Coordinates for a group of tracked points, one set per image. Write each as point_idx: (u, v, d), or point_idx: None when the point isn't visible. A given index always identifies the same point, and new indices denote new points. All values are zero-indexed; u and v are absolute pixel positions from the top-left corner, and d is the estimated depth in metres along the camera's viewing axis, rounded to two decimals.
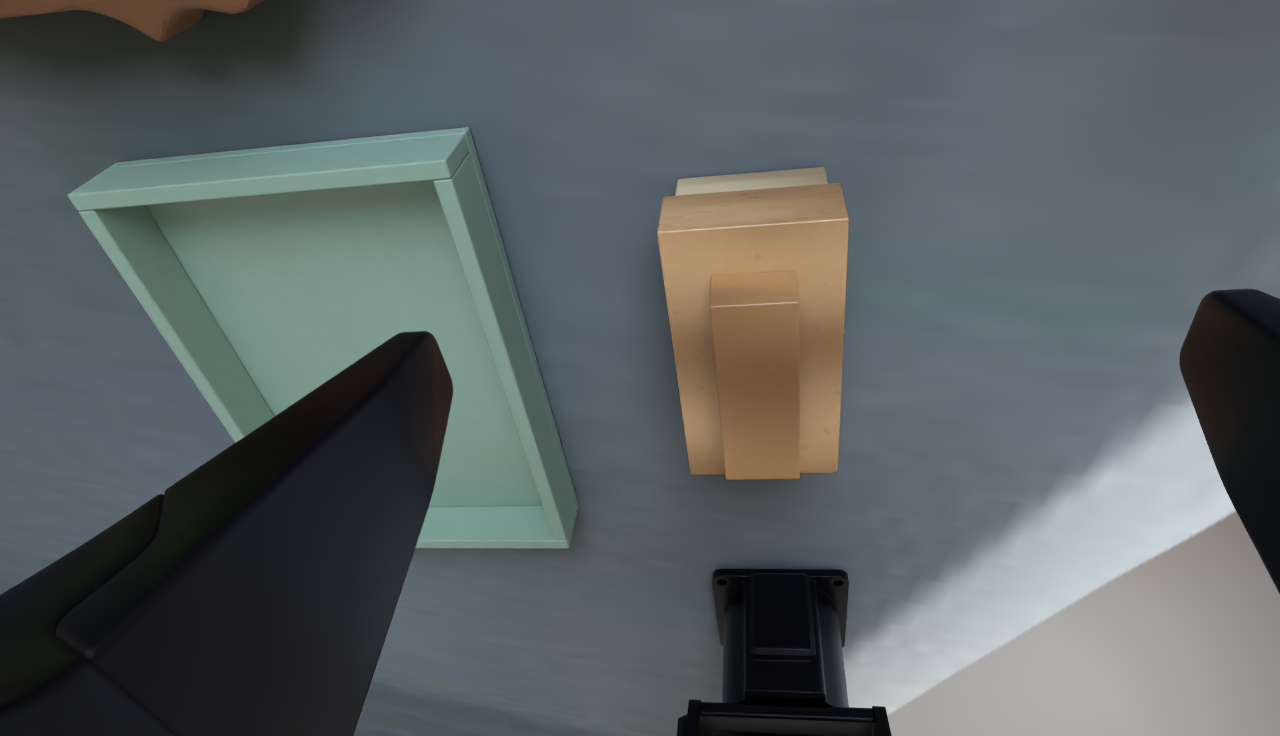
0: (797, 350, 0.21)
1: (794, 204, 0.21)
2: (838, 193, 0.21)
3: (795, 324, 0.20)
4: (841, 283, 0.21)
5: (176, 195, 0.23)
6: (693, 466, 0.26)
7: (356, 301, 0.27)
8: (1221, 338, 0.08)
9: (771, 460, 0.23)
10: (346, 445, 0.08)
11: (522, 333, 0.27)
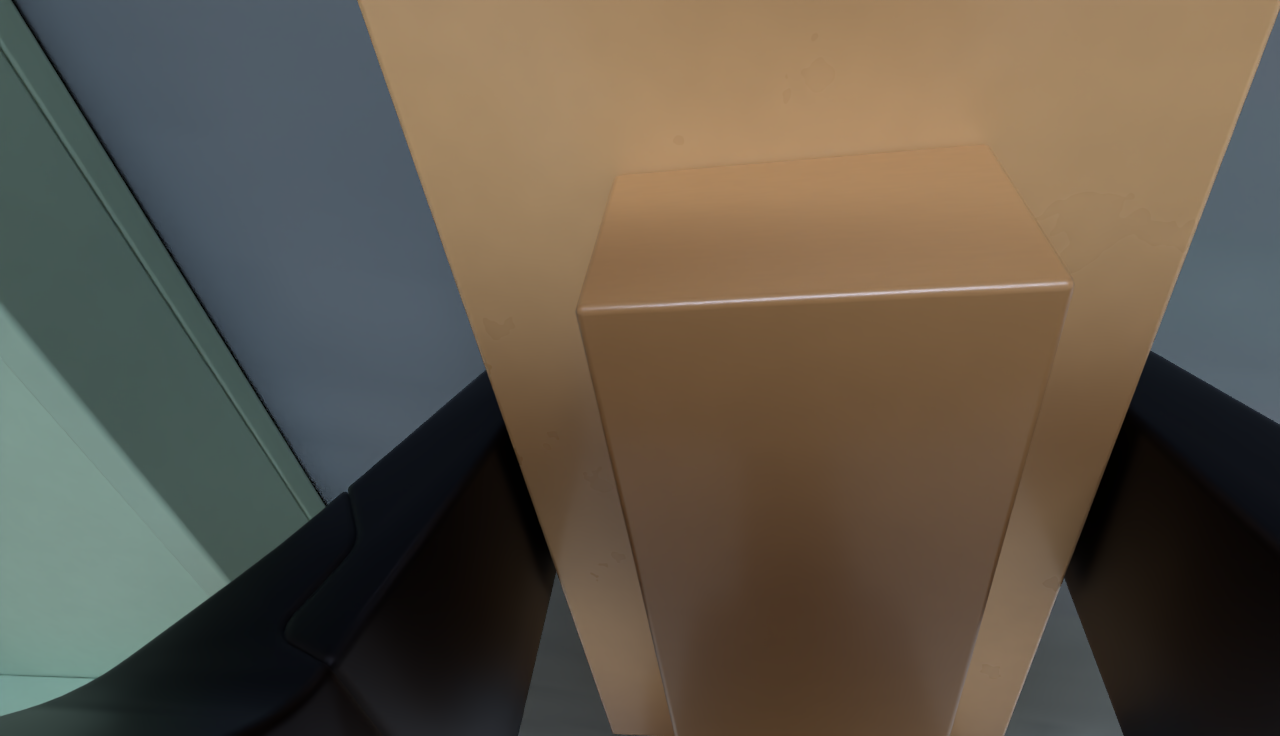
0: (1003, 512, 0.04)
1: None
2: None
3: (1025, 401, 0.04)
4: (1186, 205, 0.05)
5: None
6: (617, 720, 0.10)
7: None
8: None
9: None
10: None
11: (204, 372, 0.11)
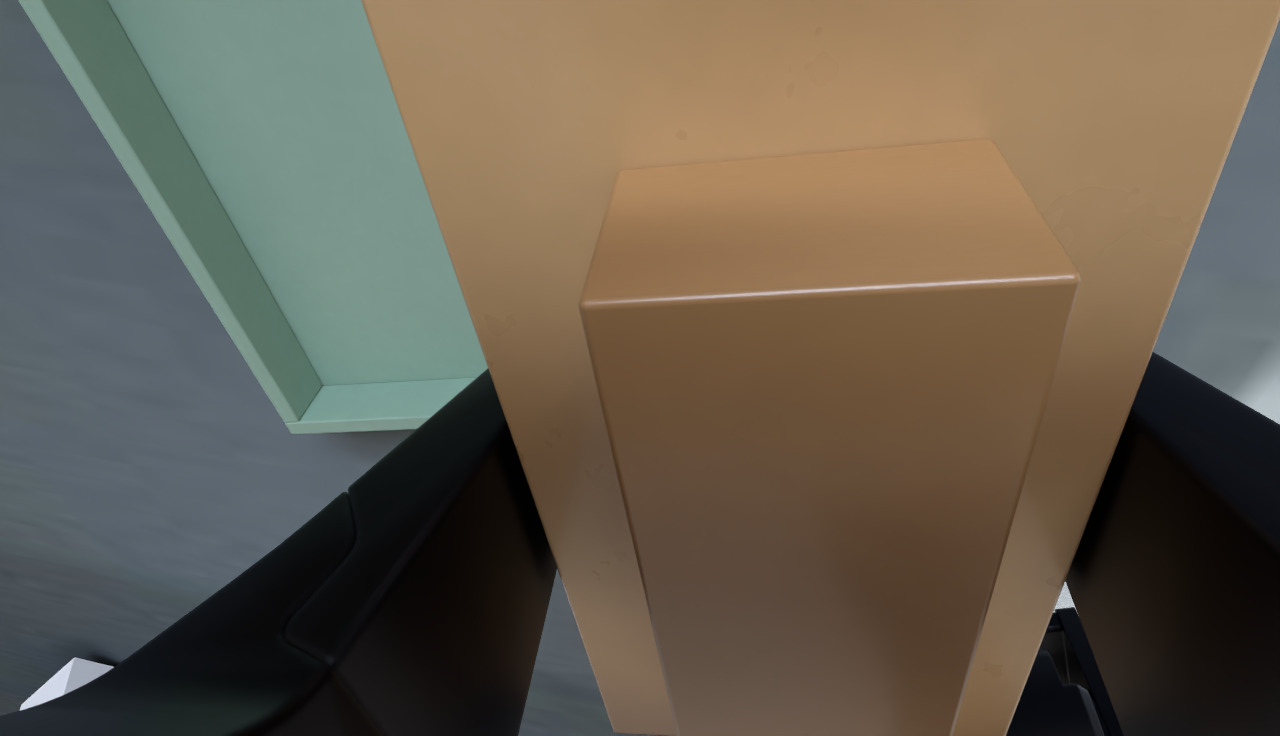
0: (1009, 508, 0.04)
1: None
2: None
3: (1031, 396, 0.04)
4: (1192, 199, 0.05)
5: None
6: (618, 718, 0.10)
7: (347, 31, 0.19)
8: None
9: None
10: None
11: None
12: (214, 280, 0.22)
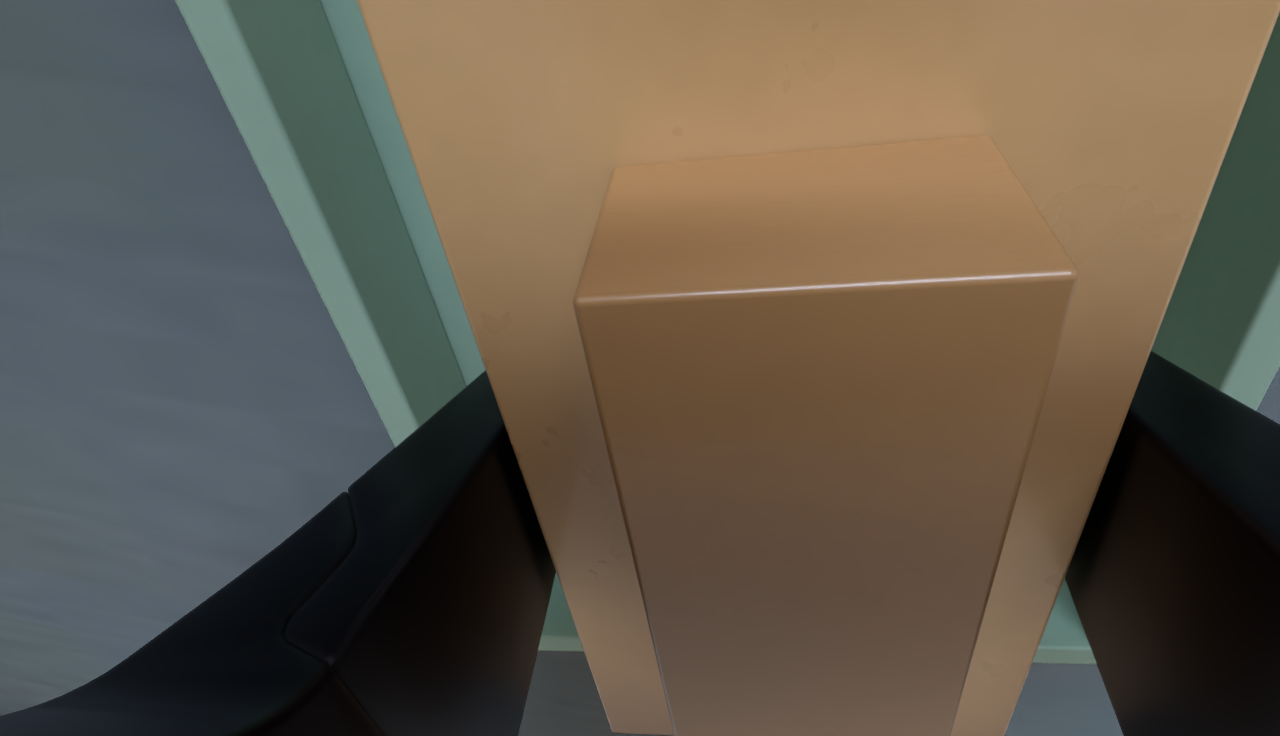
0: (1006, 507, 0.04)
1: None
2: None
3: (1028, 394, 0.04)
4: (1190, 196, 0.05)
5: None
6: (616, 718, 0.10)
7: None
8: None
9: None
10: None
11: None
12: None
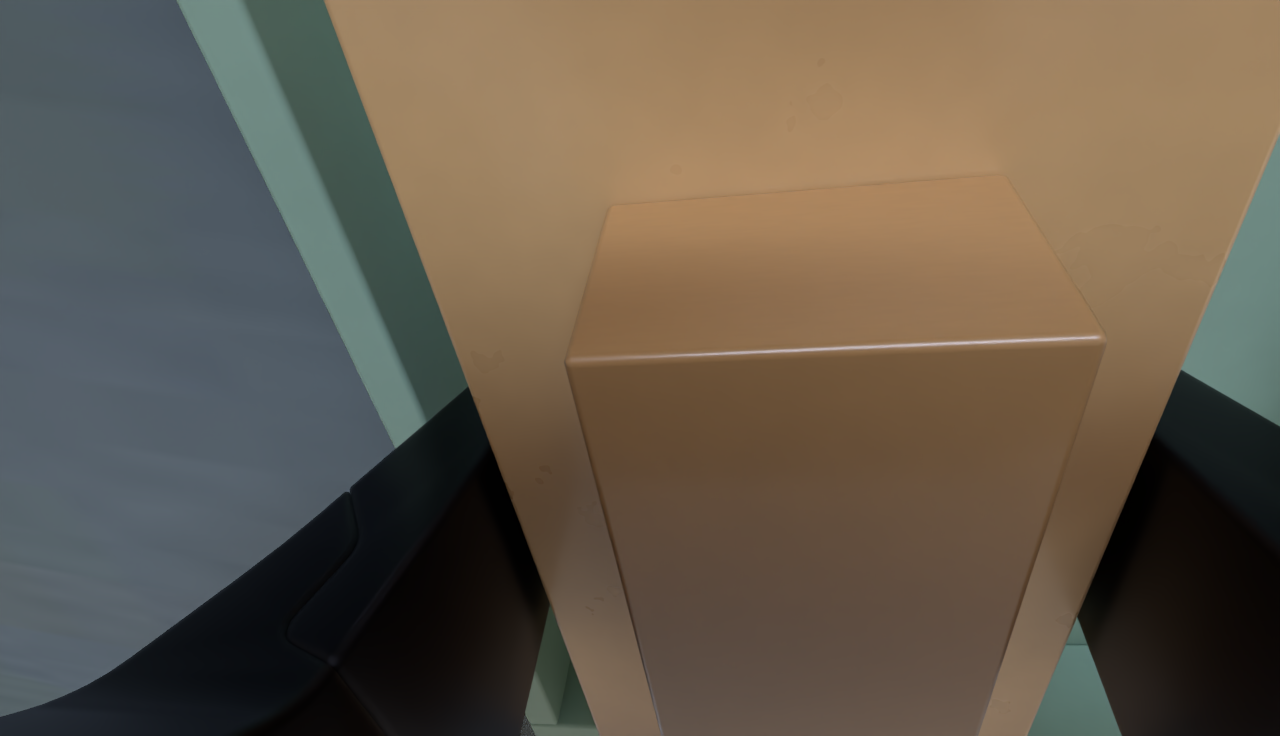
0: (1024, 569, 0.04)
1: None
2: None
3: (1051, 459, 0.04)
4: (1216, 238, 0.04)
5: None
6: None
7: None
8: None
9: None
10: None
11: None
12: None
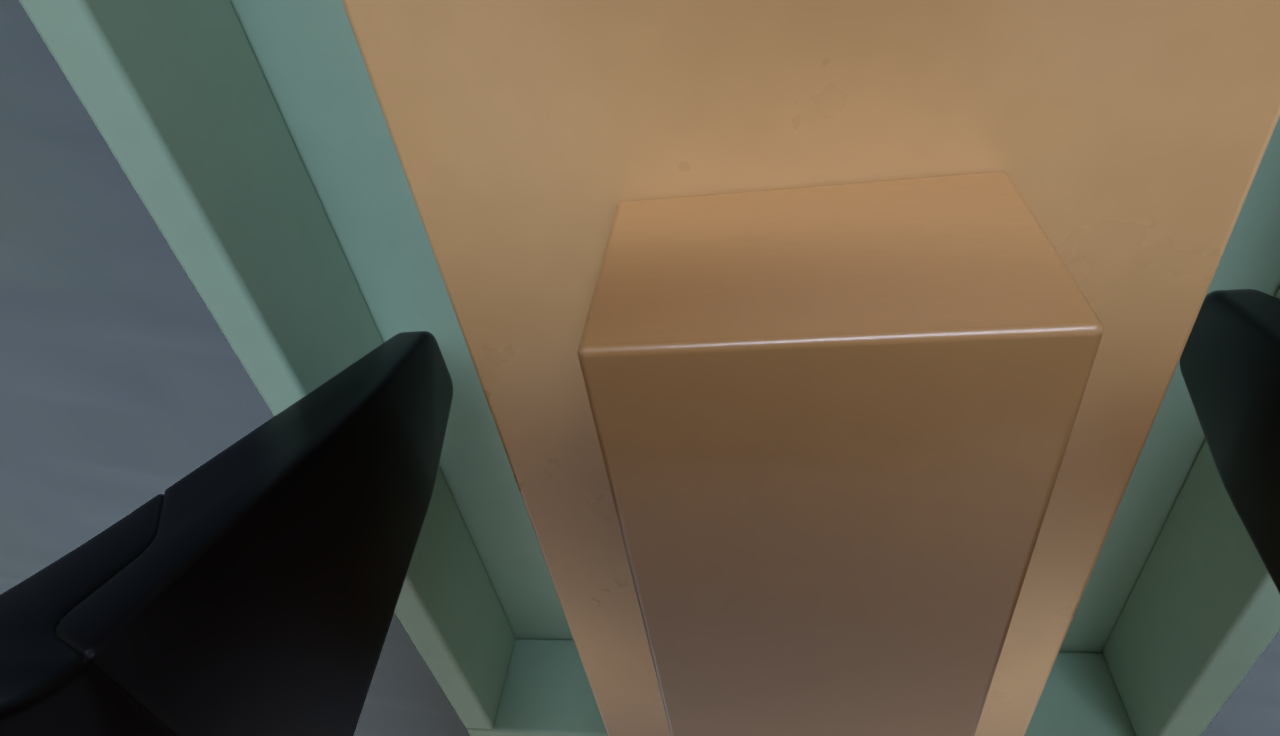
0: (1023, 556, 0.04)
1: None
2: None
3: (1049, 446, 0.04)
4: (1212, 233, 0.05)
5: None
6: None
7: None
8: (1222, 338, 0.08)
9: None
10: (346, 445, 0.08)
11: None
12: None
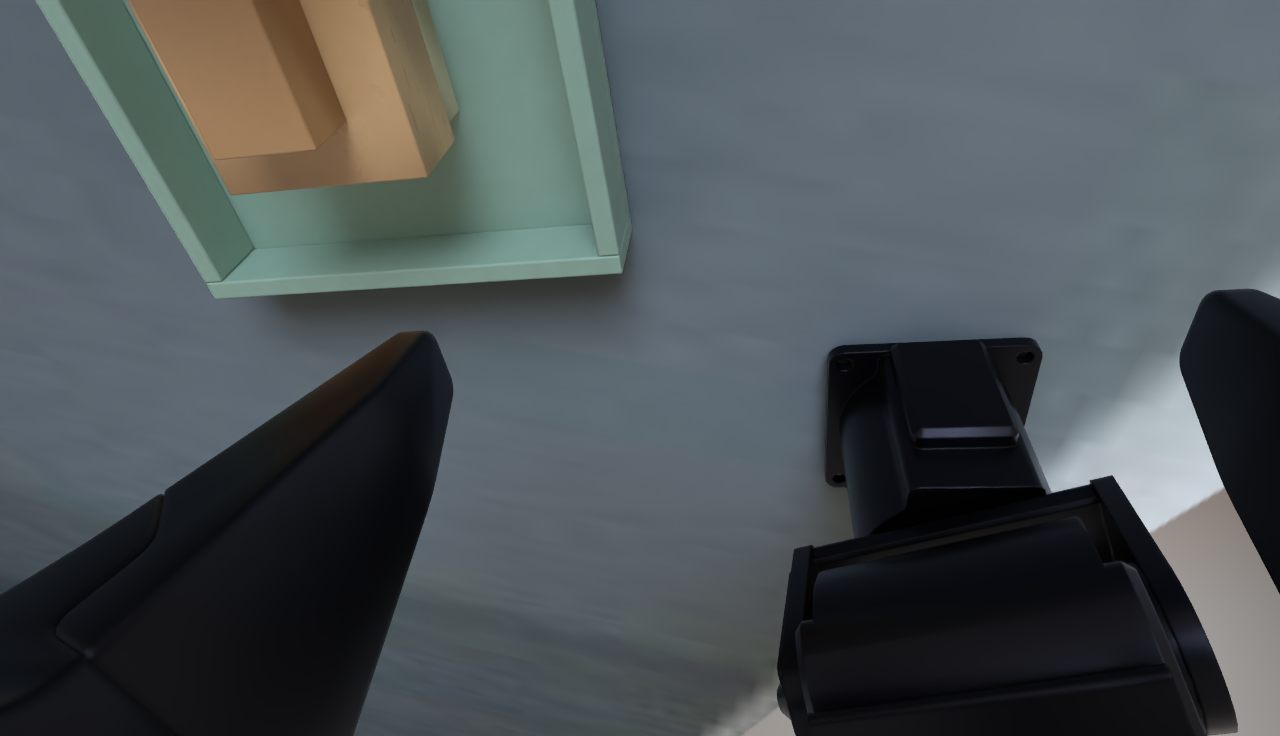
0: None
1: None
2: None
3: None
4: None
5: None
6: (226, 177, 0.18)
7: None
8: (1221, 338, 0.08)
9: (257, 111, 0.15)
10: (346, 445, 0.08)
11: None
12: (110, 86, 0.19)
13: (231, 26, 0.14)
